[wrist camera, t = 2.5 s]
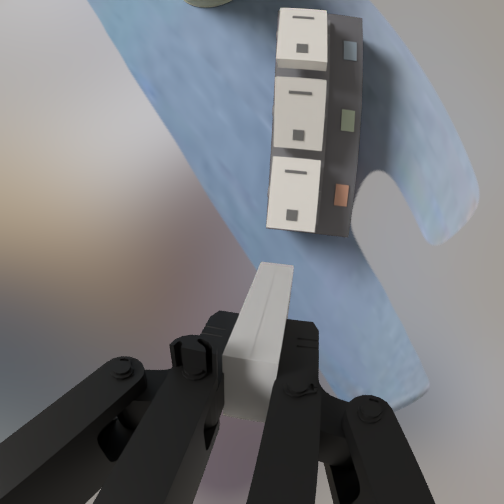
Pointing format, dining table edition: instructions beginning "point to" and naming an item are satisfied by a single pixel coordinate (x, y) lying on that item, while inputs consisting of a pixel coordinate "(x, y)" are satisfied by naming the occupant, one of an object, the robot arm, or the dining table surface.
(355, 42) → the rocker switch panel
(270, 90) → the dining table surface
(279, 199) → the rocker
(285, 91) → the rocker
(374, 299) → the dining table surface
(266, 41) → the dining table surface
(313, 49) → the rocker
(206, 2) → the can
